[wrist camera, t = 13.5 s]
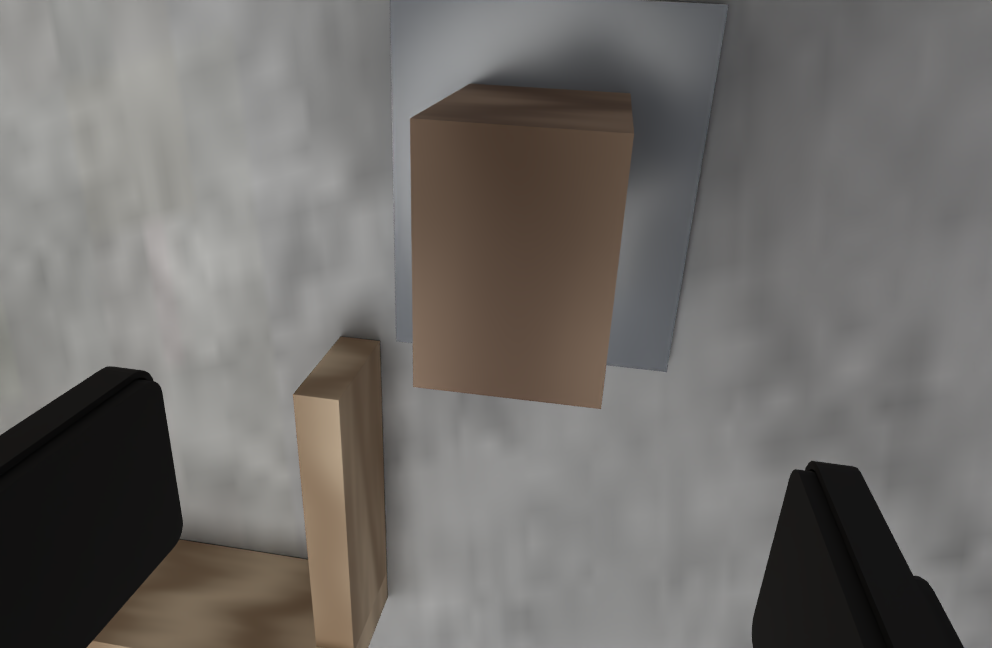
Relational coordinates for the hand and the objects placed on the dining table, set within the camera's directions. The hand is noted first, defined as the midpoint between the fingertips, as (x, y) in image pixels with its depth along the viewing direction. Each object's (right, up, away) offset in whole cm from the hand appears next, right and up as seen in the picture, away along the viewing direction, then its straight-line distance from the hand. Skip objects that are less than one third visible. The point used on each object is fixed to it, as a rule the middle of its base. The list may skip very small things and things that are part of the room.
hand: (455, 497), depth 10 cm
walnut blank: (+2, +7, +13) cm, 15 cm away
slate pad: (+2, +7, +14) cm, 16 cm away
